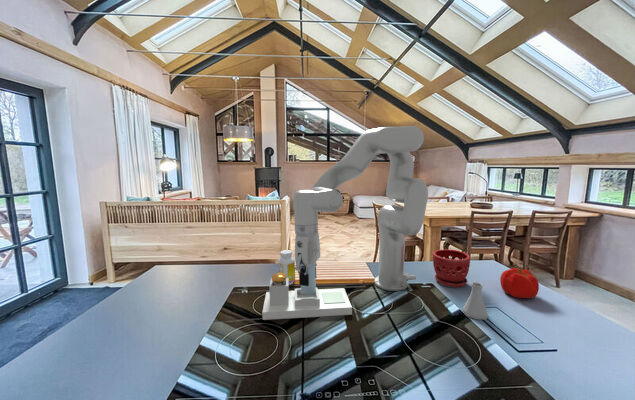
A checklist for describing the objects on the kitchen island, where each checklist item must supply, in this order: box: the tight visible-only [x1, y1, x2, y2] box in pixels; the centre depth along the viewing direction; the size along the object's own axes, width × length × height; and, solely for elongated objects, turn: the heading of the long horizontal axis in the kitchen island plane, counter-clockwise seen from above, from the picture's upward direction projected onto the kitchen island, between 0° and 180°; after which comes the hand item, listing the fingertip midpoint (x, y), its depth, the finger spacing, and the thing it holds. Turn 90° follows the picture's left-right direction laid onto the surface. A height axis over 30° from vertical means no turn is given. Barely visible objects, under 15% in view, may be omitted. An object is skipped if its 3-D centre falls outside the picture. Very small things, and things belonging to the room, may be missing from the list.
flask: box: [461, 281, 488, 320], centre depth 84 cm, size 7×7×10 cm
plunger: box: [271, 272, 287, 285], centre depth 88 cm, size 5×5×8 cm
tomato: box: [499, 267, 540, 299], centre depth 97 cm, size 11×12×9 cm
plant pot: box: [432, 248, 471, 288], centre depth 106 cm, size 13×13×12 cm
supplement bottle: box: [277, 249, 296, 286], centre depth 107 cm, size 7×7×13 cm
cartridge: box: [300, 262, 317, 294], centre depth 88 cm, size 5×5×13 cm
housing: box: [261, 278, 353, 321], centre depth 89 cm, size 28×13×9 cm, turn 95°
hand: (308, 280), depth 89 cm, fingers closed on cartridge, 5 cm apart
